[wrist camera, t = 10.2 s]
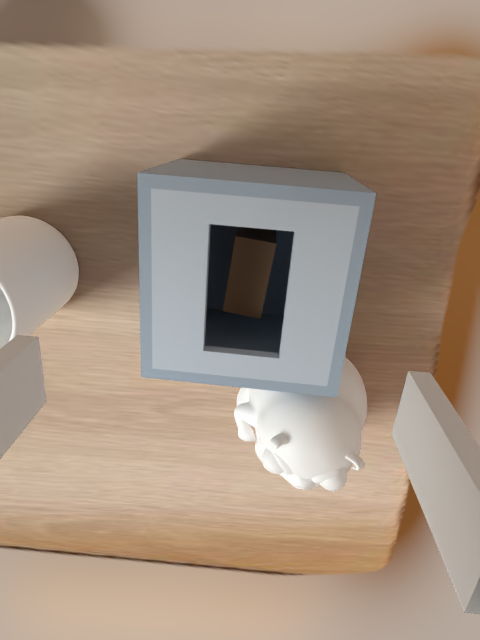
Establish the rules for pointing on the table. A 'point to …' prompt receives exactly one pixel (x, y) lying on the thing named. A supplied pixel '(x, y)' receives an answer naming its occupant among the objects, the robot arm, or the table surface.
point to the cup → (32, 274)
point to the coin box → (214, 265)
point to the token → (249, 271)
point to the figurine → (307, 431)
